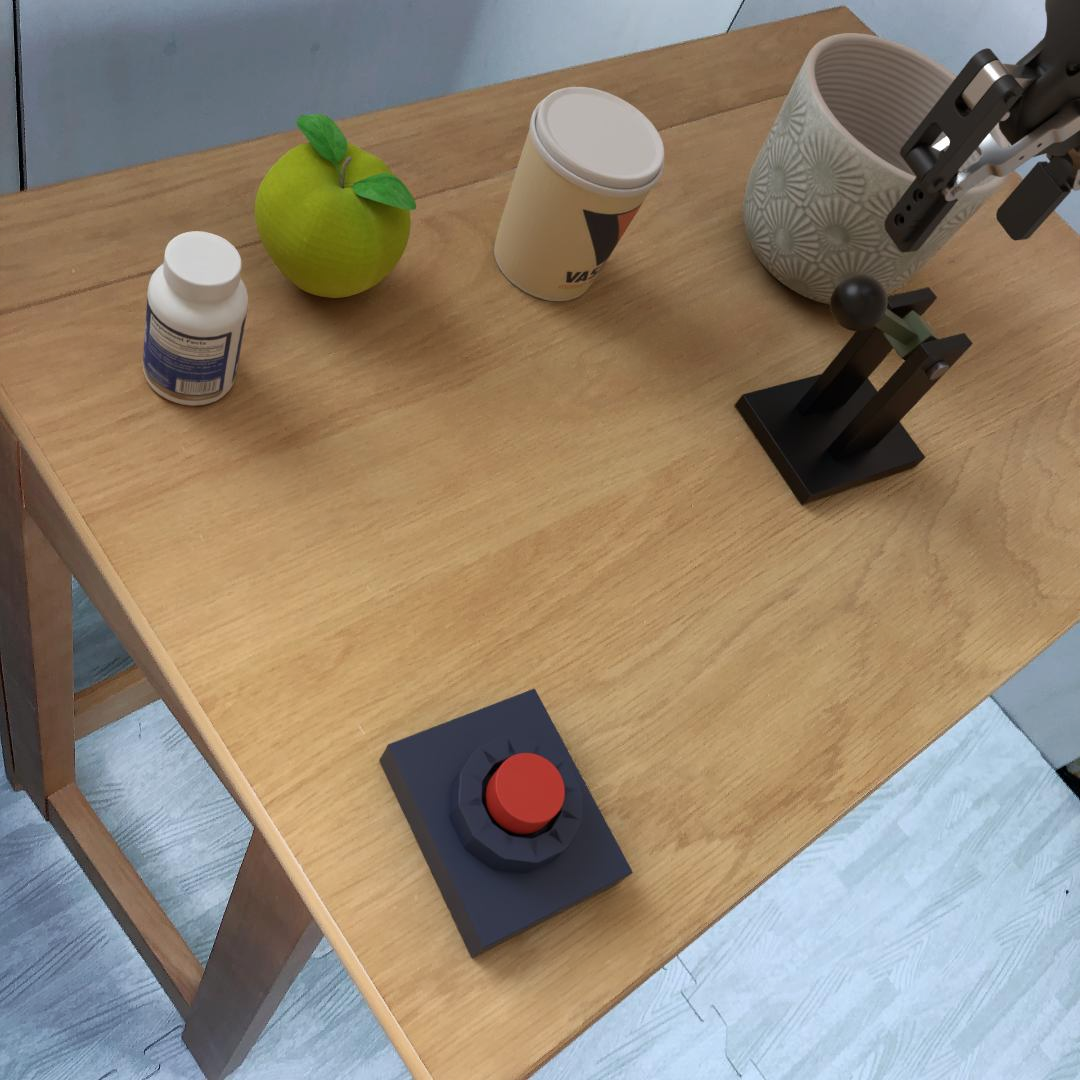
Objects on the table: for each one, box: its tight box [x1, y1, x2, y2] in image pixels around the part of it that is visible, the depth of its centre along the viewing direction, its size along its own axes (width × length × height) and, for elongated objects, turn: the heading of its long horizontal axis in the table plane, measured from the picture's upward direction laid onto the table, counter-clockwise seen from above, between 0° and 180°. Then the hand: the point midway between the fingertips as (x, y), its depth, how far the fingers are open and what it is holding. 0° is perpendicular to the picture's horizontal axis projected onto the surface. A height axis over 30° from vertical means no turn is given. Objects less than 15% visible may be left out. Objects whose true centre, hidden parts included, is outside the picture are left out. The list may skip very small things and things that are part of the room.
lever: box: [829, 275, 941, 362], centre depth 71 cm, size 14×3×3 cm, turn 119°
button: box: [486, 753, 565, 834], centre depth 57 cm, size 4×4×2 cm
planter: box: [742, 32, 1011, 305], centre depth 89 cm, size 17×17×15 cm
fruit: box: [254, 113, 417, 299], centre depth 73 cm, size 9×9×10 cm
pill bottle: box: [142, 230, 249, 407], centre depth 65 cm, size 5×5×10 cm
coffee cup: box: [493, 86, 665, 302], centre depth 80 cm, size 9×9×12 cm
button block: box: [378, 688, 633, 959], centre depth 59 cm, size 11×9×4 cm
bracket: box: [734, 287, 974, 506], centre depth 80 cm, size 12×9×13 cm
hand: (955, 234), depth 61 cm, fingers open, 8 cm apart
